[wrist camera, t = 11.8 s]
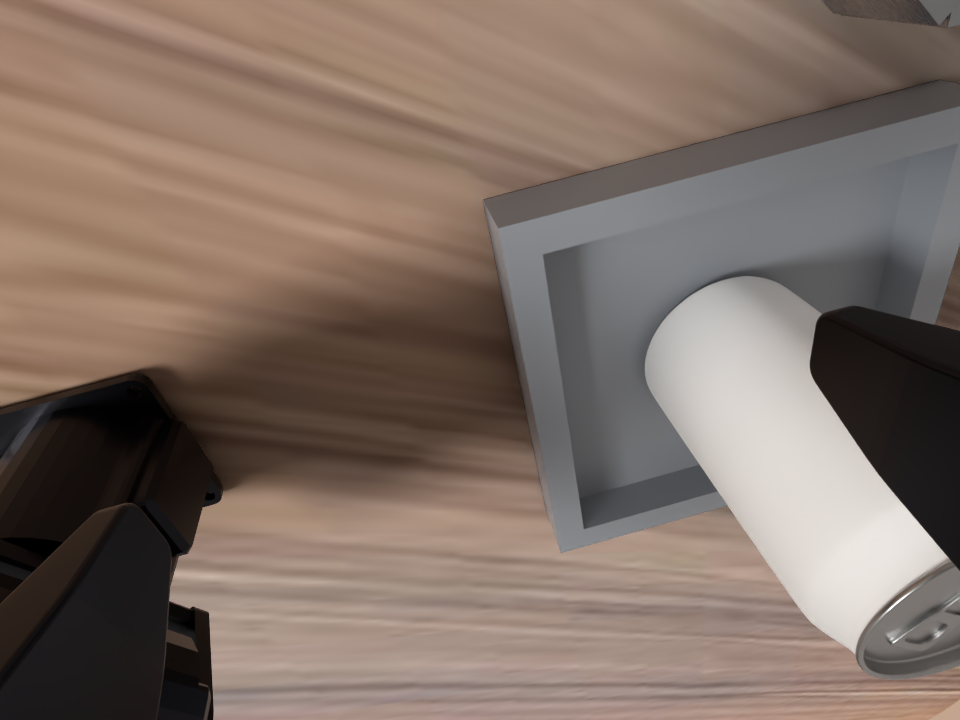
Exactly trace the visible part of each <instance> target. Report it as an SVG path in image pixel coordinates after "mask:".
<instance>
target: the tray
mask: <svg viewBox="0 0 960 720" xmlns="http://www.w3.org/2000/svg"><path fill="white" fill-rule="evenodd" d="M483 203H484V208H485V213H486V218H487V223H488V228H489V233H490V238H491V243H492V248H493V253H494V258H495V262H496V267H497V272H498V277H499V282H500V287H501V292H502V297H503V302H504V307H505V312H506V316H507V321H508V326H509V331H510V336H511V341H512V346H513V351H514V356H515V361H516V366H517V371H518V375H519V380H520V385H521V390H522V395H523V400H524V405H525V410H526V415H527V420H528V425H529V429H530V434H531V439H532V444H533V449H534V454H535V459H536V464H537V469H538V474H539V479H540V484H541V488H542V493H543V498H544V503H545V508H546V512H547V515H548V518H549V521H550V523H551V526H552V529H553V532H554V535H555V538H556V540H557V543H558V546H559V549H560V552H561V553H563V552H566V551H570V550H573V549H577V548H580V547H584V546H588V545H591V544H595V543H598V542H602V541H605V540H609V539H612V538H616V537H619V536H623V535H626V534H630V533H633V532H637V531H640V530H644V529H647V528H651V527H654V526H658V525H661V524H665V523H668V522H672V521H675V520H679V519H682V518H686V517H690V516H693V515H697V514H700V513H704V512H707V511H711V510H714V509H718V508H721V507H725V506H728V505H727V504H726V502H725V501H724V499H723V498H722V497H721V495H720V494H719V492H718V491H717V489H716V488H715V486H714V485H713V483H712V482H711V481H710V479H709V478H708V476H707V475H706V473H705V472H704V470H703V469H702V467H701V466H700V464H699V463H698V462H697V460H696V459H695V457H694V456H693V454H692V453H691V451H690V450H689V448H688V447H687V445H686V444H685V443H684V441H683V440H682V438H681V437H680V435H679V434H678V432H677V431H676V429H675V428H674V426H673V425H672V423H671V422H670V420H669V419H668V418H667V416H666V415H665V413H664V412H663V410H662V409H661V407H660V406H659V404H658V403H657V401H656V399H655V398H654V396H653V395H652V393H651V391H650V389H649V387H648V385H647V382H646V377H645V359H646V354H647V351H648V348H649V345H650V343H651V340H652V338H653V336H654V334H655V332H656V330H657V328H658V327H659V325H660V324H661V322H662V321H663V319H664V318H665V317H666V316H667V315H668V313H669V312H670V311H671V310H672V309H673V308H674V307H675V306H676V305H678V304H679V303H680V302H681V301H682V300H684V299H685V298H686V297H688V296H689V295H691V294H692V293H694V292H696V291H697V290H699V289H701V288H703V287H706V286H708V285H710V284H713V283H716V282H719V281H722V280H725V279H729V278H734V277H741V276H754V277H761V278H765V279H769V280H772V281H775V282H777V283H779V284H781V285H783V286H784V287H786V288H787V289H789V290H790V291H792V292H793V293H794V294H796V295H797V296H798V297H800V298H801V299H803V300H804V301H805V302H807V303H808V304H809V305H811V306H812V307H813V308H815V309H816V310H817V311H819V312H820V313H821V314H823V313H825V312H827V311H831V310H835V309H838V308H842V307H846V306H851V305H856V306H861V307H865V308H869V309H873V310H877V311H881V312H885V313H889V314H893V315H897V316H901V317H905V318H909V319H913V320H917V321H922V322H926V323H930V324H934V325H935V323H936V320H937V317H938V314H939V310H940V307H941V304H942V301H943V297H944V294H945V291H946V288H947V285H948V281H949V278H950V275H951V272H952V268H953V265H954V262H955V259H956V255H957V252H958V249H959V246H960V84H957V83H953V82H948V81H943V80H937V81H933V82H929V83H925V84H922V85H918V86H914V87H910V88H906V89H903V90H899V91H895V92H891V93H887V94H884V95H880V96H876V97H872V98H868V99H865V100H861V101H857V102H853V103H849V104H846V105H842V106H838V107H834V108H830V109H827V110H823V111H819V112H815V113H812V114H808V115H804V116H800V117H796V118H793V119H789V120H785V121H781V122H777V123H774V124H770V125H766V126H762V127H758V128H755V129H751V130H747V131H743V132H739V133H736V134H732V135H728V136H724V137H720V138H717V139H713V140H709V141H705V142H701V143H698V144H694V145H690V146H686V147H682V148H679V149H675V150H671V151H667V152H663V153H660V154H656V155H652V156H648V157H644V158H641V159H637V160H633V161H629V162H625V163H622V164H618V165H614V166H610V167H606V168H603V169H599V170H595V171H591V172H587V173H584V174H580V175H576V176H572V177H568V178H565V179H561V180H557V181H553V182H549V183H546V184H542V185H538V186H534V187H530V188H527V189H523V190H519V191H515V192H511V193H508V194H504V195H500V196H496V197H492V198H489V199H485V200H483Z"/></svg>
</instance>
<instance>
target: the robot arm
mask: <svg viewBox="0 0 960 720" xmlns="http://www.w3.org/2000/svg"><path fill="white" fill-rule="evenodd" d="M810 372H811V375H812V378H813V380H814V382H815V383H816V385H817V386H818V388H819V389H820V391H821V392H822V394H823V395H824V396H825V398H826V399H827V401H828V402H829V404H830V405H831V407H832V408H833V410H834V411H835V413H836V414H837V416H838V417H839V419H840V420H841V421H842V423H843V424H844V426H845V427H846V429H847V430H848V432H849V433H850V435H851V436H852V438H853V439H854V441H855V442H856V444H857V445H858V446H859V448H860V449H861V451H862V452H863V454H864V455H865V457H866V458H867V460H868V461H869V462H870V464H871V465H872V466H873V468H874V469H875V471H876V472H877V473H878V475H879V476H880V477H881V478H882V480H883V481H884V482H885V483H886V485H887V486H888V487H889V488H890V490H891V491H892V492H893V493H894V494H895V495H896V497H897V498H898V499H899V500H900V501H901V503H902V504H903V505H904V506H905V507H906V508H907V510H908V511H909V512H910V513H911V514H912V515H913V517H914V518H915V519H916V520H917V521H918V523H919V524H920V525H921V526H922V527H923V528H924V530H925V531H926V532H927V533H928V534H929V536H930V537H931V538H932V539H933V540H934V541H935V543H936V544H937V545H938V546H939V547H940V549H941V550H942V551H943V552H944V553H945V554H946V556H947V557H948V558H949V559H950V560H951V562H952V563H953V564H954V565H955V566H956V567H957V569H958V570H959V571H960V331H958V330H954V329H950V328H946V327H942V326H938V325H934V324H930V323H926V322H922V321H917V320H913V319H909V318H905V317H901V316H897V315H893V314H889V313H885V312H881V311H877V310H873V309H869V308H865V307H861V306H856V305H851V306H846V307H842V308H838V309H835V310H831V311H827V312H825V313H823V314H821V315H820V317H819V318H818V320H817V322H816V326H815V332H814V338H813V344H812V350H811V356H810ZM131 386H136V387H139V388H140V389H141V390H142V391H136V390H133V389H132V388H131ZM212 470H213V465H212V464H211V462H210V461H209V459H208V458H207V456H206V455H205V453H204V452H203V450H202V449H201V447H200V446H199V444H198V443H197V441H196V440H195V438H194V437H193V435H192V434H191V432H190V431H189V429H188V428H187V426H186V425H185V423H184V422H182V421H181V420H179V419H177V418H176V416H175V415H174V413H173V412H172V410H171V409H170V407H169V406H168V404H167V403H166V401H165V400H164V398H163V397H162V395H161V394H160V393H159V391H158V390H157V388H156V387H155V385H154V384H153V382H152V381H151V380H150V379H149V378H148V377H146V376H144V375H141V374H129V375H126V376H122V377H118V378H114V379H111V380H107V381H103V382H100V383H96V384H92V385H88V386H85V387H81V388H77V389H73V390H70V391H66V392H62V393H58V394H55V395H51V396H47V397H43V398H40V399H36V400H32V401H29V402H25V403H21V404H17V405H14V406H10V407H6V408H2V409H0V720H213V711H214V710H213V689H212V669H211V648H210V627H209V613H208V612H206V611H204V610H201V609H198V608H196V607H191V608H190V609H189V608H187V607H184V606H181V605H178V604H176V603H173V602H170V601H169V596H170V585H171V582H172V578H173V575H174V571H175V568H176V564H177V561H178V557H179V556H181V555H185V554H188V552H189V550H190V549H191V547H192V545H193V541H194V537H195V534H196V530H197V526H198V522H199V519H200V515H201V511H202V508H203V507H206V506H209V505H213V504H216V503H218V502H219V501H220V500H221V498H222V493H223V486H222V484H221V483H220V481H219V480H218V478H217V477H216V475H215V474H214V472H213V471H212ZM207 492H213V493H207Z"/></svg>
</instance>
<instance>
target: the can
mask: <svg viewBox="0 0 960 720" xmlns="http://www.w3.org/2000/svg"><path fill="white" fill-rule="evenodd" d="M820 315H821V313H820V312H819V311H817V310H816V309H815V308H813V307H812V306H811V305H809V304H808V303H807V302H805V301H804V300H803V299H801V298H800V297H798V296H797V295H796V294H794V293H793V292H792V291H790V290H789V289H787V288H786V287H784V286H783V285H781V284H779V283H777V282H775V281H772V280H769V279H765V278H761V277H754V276H741V277H734V278H729V279H725V280H722V281H719V282H716V283H713V284H710V285H708V286H706V287H703V288H701V289H699V290H697V291H696V292H694V293H692V294H691V295H689V296H688V297H686V298H685V299H684V300H682V301H681V302H680V303H679V304H678V305H676V306H675V307H674V308H673V309H672V310H671V311H670V312H669V313H668V315H667V316H666V317H665V318H664V319H663V321H662V322H661V324H660V325H659V327H658V328H657V330H656V332H655V334H654V336H653V338H652V340H651V343H650V345H649V348H648V351H647V354H646V359H645V377H646V382H647V385H648V387H649V389H650V391H651V393H652V395H653V396H654V398H655V399H656V401H657V403H658V404H659V406H660V407H661V409H662V410H663V412H664V413H665V415H666V416H667V418H668V419H669V420H670V422H671V423H672V425H673V426H674V428H675V429H676V431H677V432H678V434H679V435H680V437H681V438H682V440H683V441H684V443H685V444H686V445H687V447H688V448H689V450H690V451H691V453H692V454H693V456H694V457H695V459H696V460H697V462H698V463H699V464H700V466H701V467H702V469H703V470H704V472H705V473H706V475H707V476H708V478H709V479H710V481H711V482H712V483H713V485H714V486H715V488H716V489H717V491H718V492H719V494H720V495H721V497H722V498H723V499H724V501H725V502H726V504H727V505H728V507H729V508H730V510H731V511H732V513H733V514H734V515H735V517H736V518H737V520H738V521H739V523H740V524H741V526H742V527H743V529H744V530H745V531H746V533H747V534H748V536H749V537H750V539H751V540H752V542H753V543H754V544H755V546H756V547H757V549H758V550H759V552H760V553H761V555H762V556H763V557H764V559H765V560H766V562H767V563H768V565H769V566H770V568H771V569H772V570H773V572H774V573H775V575H776V576H777V578H778V579H779V580H780V582H781V583H782V585H783V586H784V588H785V589H786V590H787V592H788V593H789V595H790V596H791V597H792V599H793V600H794V602H795V603H796V604H797V606H798V607H799V608H800V610H801V611H802V612H803V614H804V615H805V616H806V617H807V618H808V619H809V621H810V622H811V623H812V624H814V625H815V626H816V627H817V628H818V629H820V630H821V631H823V632H824V633H826V634H827V635H829V636H830V637H832V638H833V639H835V640H836V641H838V642H839V643H841V644H843V645H844V646H846V647H847V648H848V649H850V650H851V651H852V652H854V654H855V655H856V659H857V662H858V664H859V666H860V667H861V669H862V670H863V671H865V672H866V673H867V674H869V675H871V676H874V677H877V678H881V679H890V680H900V679H911V678H917V677H923V676H927V675H932V674H935V673H939V672H942V671H946V670H949V669H952V668H955V667H958V666H960V571H959V570H958V569H957V567H956V566H955V565H954V564H953V563H952V562H951V560H950V559H949V558H948V557H947V556H946V554H945V553H944V552H943V551H942V550H941V549H940V547H939V546H938V545H937V544H936V543H935V541H934V540H933V539H932V538H931V537H930V536H929V534H928V533H927V532H926V531H925V530H924V528H923V527H922V526H921V525H920V524H919V523H918V521H917V520H916V519H915V518H914V517H913V515H912V514H911V513H910V512H909V511H908V510H907V508H906V507H905V506H904V505H903V504H902V503H901V501H900V500H899V499H898V498H897V497H896V495H895V494H894V493H893V492H892V491H891V490H890V488H889V487H888V486H887V485H886V483H885V482H884V481H883V480H882V478H881V477H880V476H879V475H878V473H877V472H876V471H875V469H874V468H873V466H872V465H871V464H870V462H869V461H868V460H867V458H866V457H865V455H864V454H863V452H862V451H861V449H860V448H859V446H858V445H857V444H856V442H855V441H854V439H853V438H852V436H851V435H850V433H849V432H848V430H847V429H846V427H845V426H844V424H843V423H842V421H841V420H840V419H839V417H838V416H837V414H836V413H835V411H834V410H833V408H832V407H831V405H830V404H829V402H828V401H827V399H826V398H825V396H824V395H823V394H822V392H821V391H820V389H819V388H818V386H817V385H816V383H815V382H814V380H813V378H812V375H811V372H810V356H811V350H812V344H813V338H814V332H815V326H816V322H817V320H818V318H819V317H820Z"/></svg>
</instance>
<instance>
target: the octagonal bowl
mask: <svg viewBox="0 0 960 720" xmlns="http://www.w3.org/2000/svg"><path fill="white" fill-rule="evenodd" d="M822 1H823V2H824V3H825V4H826V5H827V6H828V7H829V9H830V10H831V11H832V12H833V13H837V14H841V15H845V16H853V17H862V18H870V19H878V20H886V21H895V22H903V23H911V24H920V25H928V26H936V27H944V28H949V27H953V26H957V25H960V0H822Z"/></svg>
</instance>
